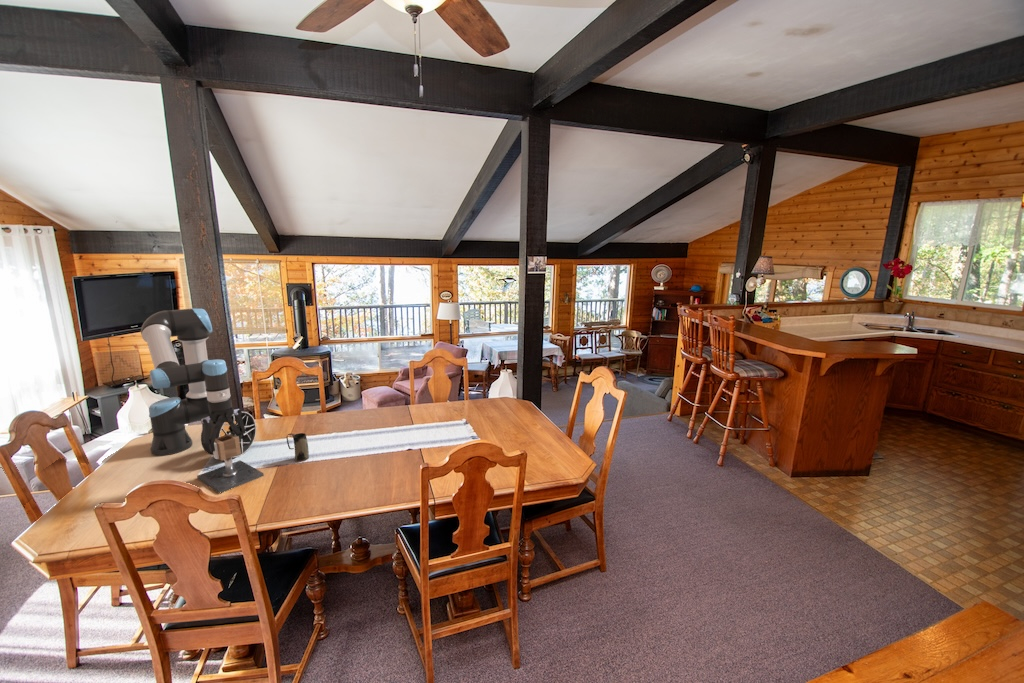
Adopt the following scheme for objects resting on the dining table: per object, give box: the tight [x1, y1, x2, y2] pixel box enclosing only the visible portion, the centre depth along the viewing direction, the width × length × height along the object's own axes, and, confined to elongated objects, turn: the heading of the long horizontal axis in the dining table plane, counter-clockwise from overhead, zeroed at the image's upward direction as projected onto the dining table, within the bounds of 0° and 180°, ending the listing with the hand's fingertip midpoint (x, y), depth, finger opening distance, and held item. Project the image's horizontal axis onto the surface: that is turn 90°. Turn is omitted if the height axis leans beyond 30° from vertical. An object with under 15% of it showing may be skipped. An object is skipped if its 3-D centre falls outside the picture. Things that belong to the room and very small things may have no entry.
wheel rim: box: [200, 411, 257, 458], centre depth 189 cm, size 20×9×20 cm, turn 168°
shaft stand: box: [196, 457, 265, 494], centre depth 169 cm, size 20×16×11 cm
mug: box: [285, 432, 310, 463], centre depth 184 cm, size 8×6×12 cm
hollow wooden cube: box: [215, 434, 241, 461], centre depth 168 cm, size 7×7×7 cm
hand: (227, 454), depth 168 cm, fingers closed on hollow wooden cube, 7 cm apart
